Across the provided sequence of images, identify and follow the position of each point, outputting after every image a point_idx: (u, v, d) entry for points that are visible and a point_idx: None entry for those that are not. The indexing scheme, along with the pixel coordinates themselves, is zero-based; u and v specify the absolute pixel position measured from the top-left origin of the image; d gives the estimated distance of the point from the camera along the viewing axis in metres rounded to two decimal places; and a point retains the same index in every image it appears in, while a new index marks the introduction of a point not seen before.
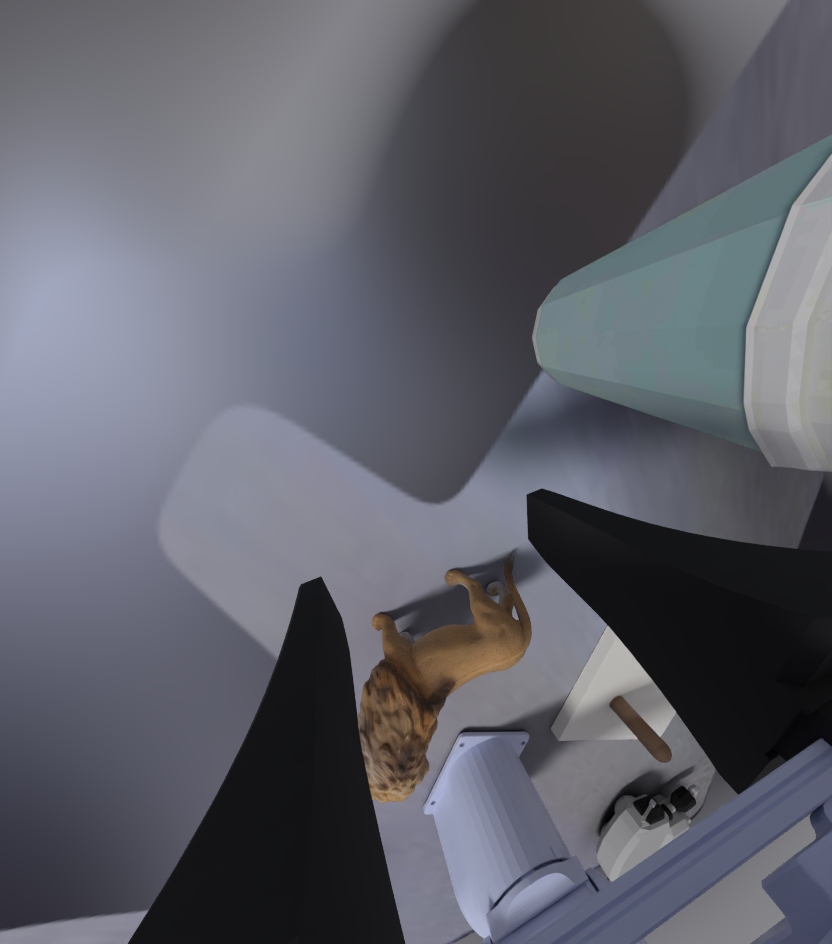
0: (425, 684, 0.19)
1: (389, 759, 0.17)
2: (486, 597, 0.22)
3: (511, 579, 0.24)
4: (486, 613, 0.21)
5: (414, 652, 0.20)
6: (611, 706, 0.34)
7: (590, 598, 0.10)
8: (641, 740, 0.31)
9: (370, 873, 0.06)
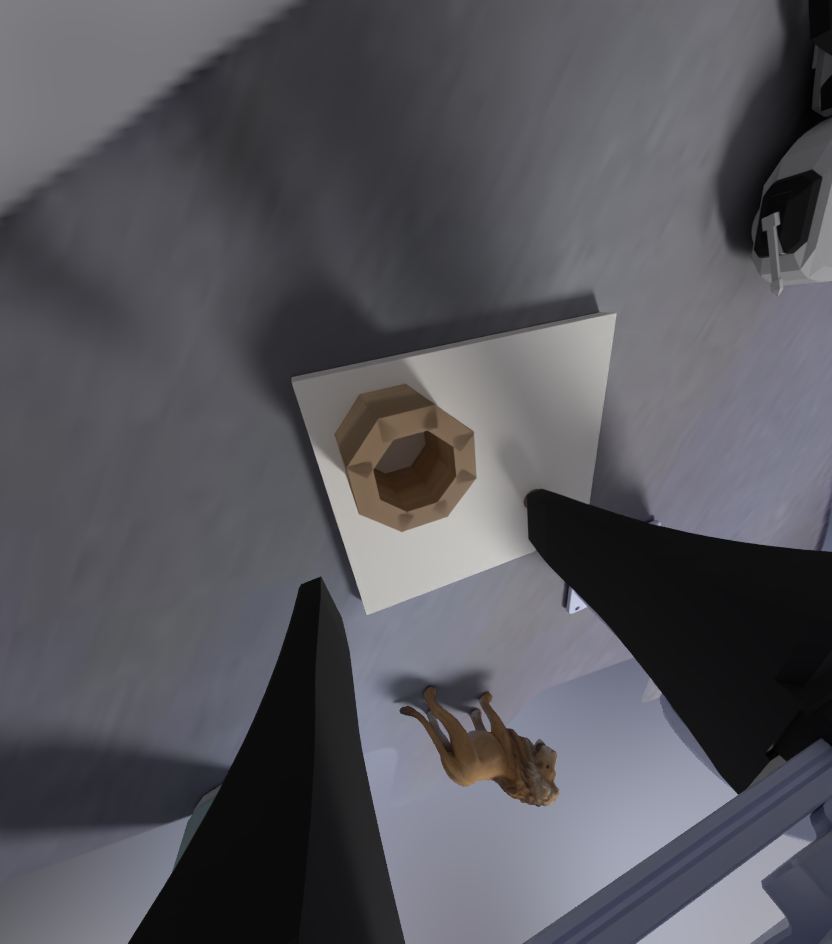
0: None
1: None
2: None
3: (418, 719, 0.30)
4: None
5: None
6: None
7: (590, 598, 0.10)
8: None
9: (370, 873, 0.06)
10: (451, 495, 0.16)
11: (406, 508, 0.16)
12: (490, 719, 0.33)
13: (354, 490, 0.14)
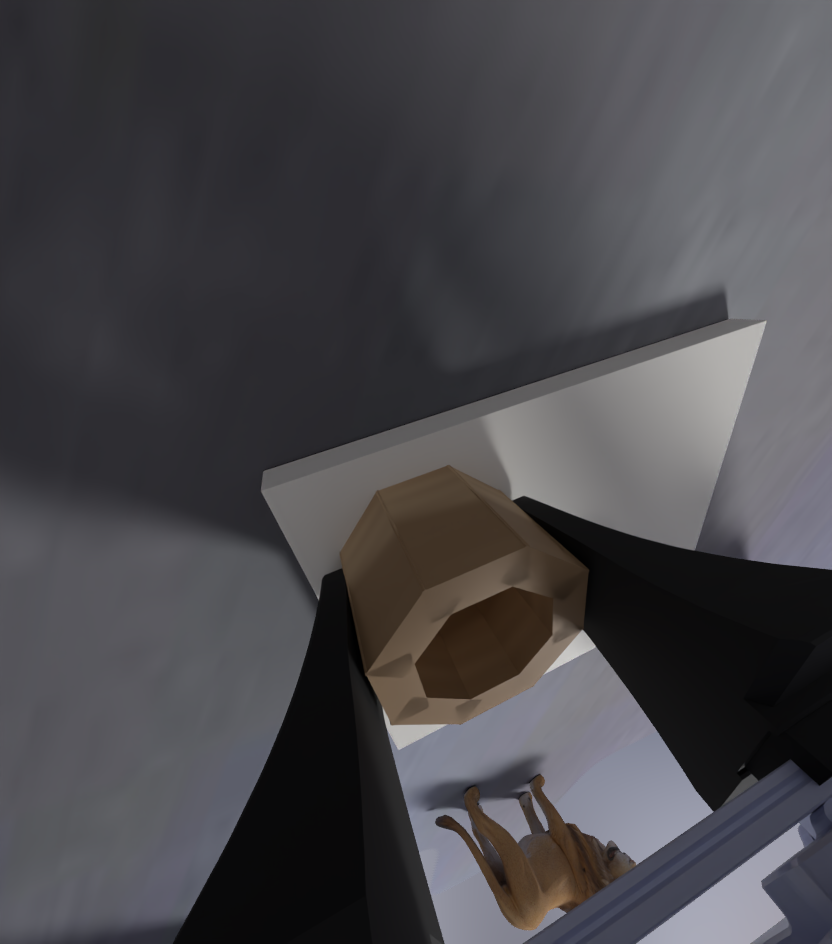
0: None
1: None
2: (485, 859, 0.24)
3: None
4: None
5: None
6: None
7: None
8: None
9: (407, 852, 0.06)
10: (541, 659, 0.09)
11: (466, 685, 0.09)
12: (546, 815, 0.27)
13: (381, 699, 0.08)
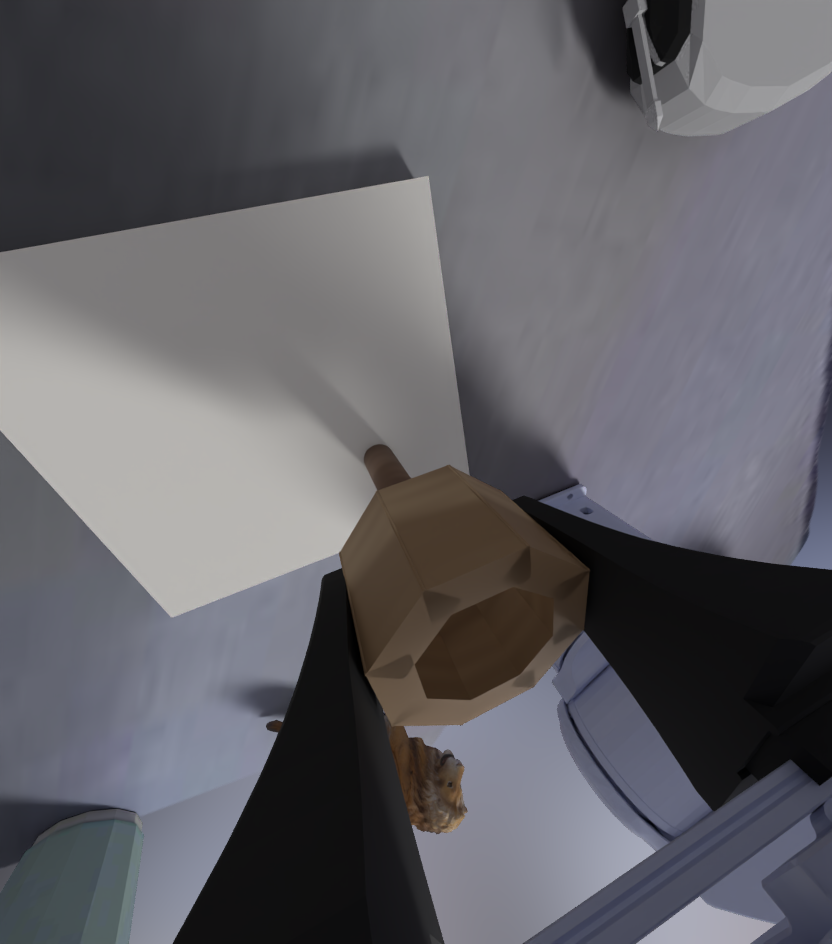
0: None
1: None
2: None
3: None
4: None
5: None
6: None
7: None
8: None
9: (407, 852, 0.06)
10: (542, 660, 0.09)
11: (467, 685, 0.09)
12: (390, 728, 0.28)
13: (381, 700, 0.07)
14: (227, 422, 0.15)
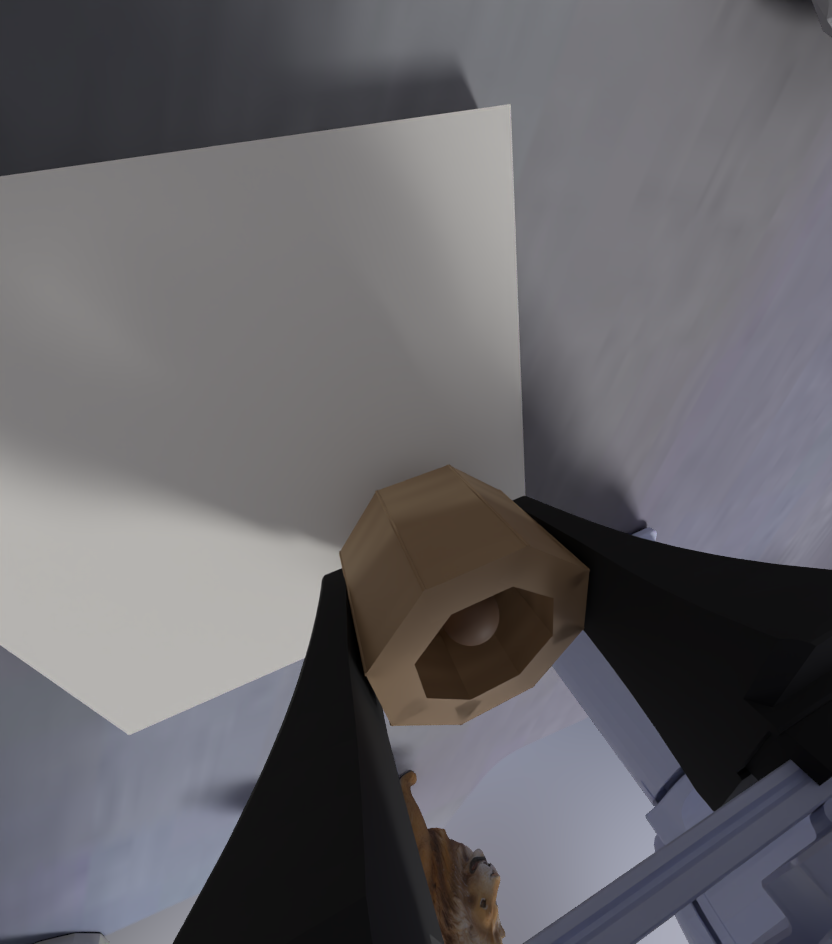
0: None
1: None
2: None
3: None
4: None
5: None
6: None
7: None
8: None
9: (407, 852, 0.06)
10: (542, 660, 0.09)
11: (467, 685, 0.09)
12: None
13: (381, 699, 0.07)
14: (198, 482, 0.10)
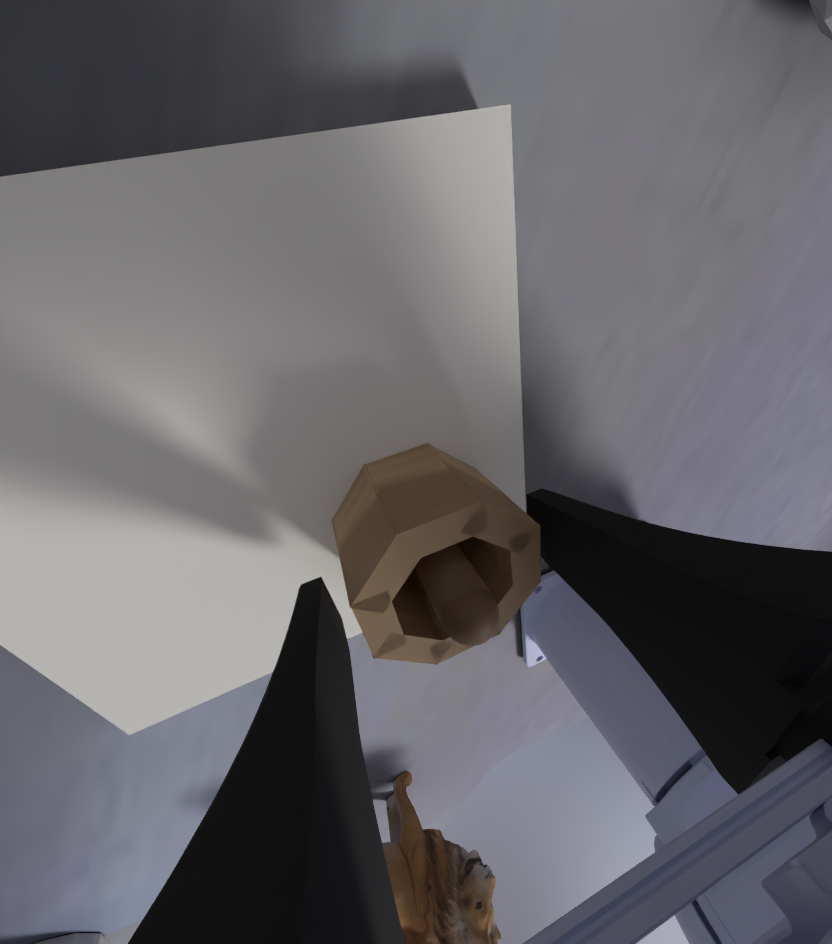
0: None
1: None
2: None
3: None
4: None
5: None
6: None
7: (590, 598, 0.10)
8: None
9: (370, 873, 0.06)
10: (505, 608, 0.11)
11: (440, 630, 0.11)
12: (401, 820, 0.22)
13: (364, 631, 0.09)
14: (198, 482, 0.10)
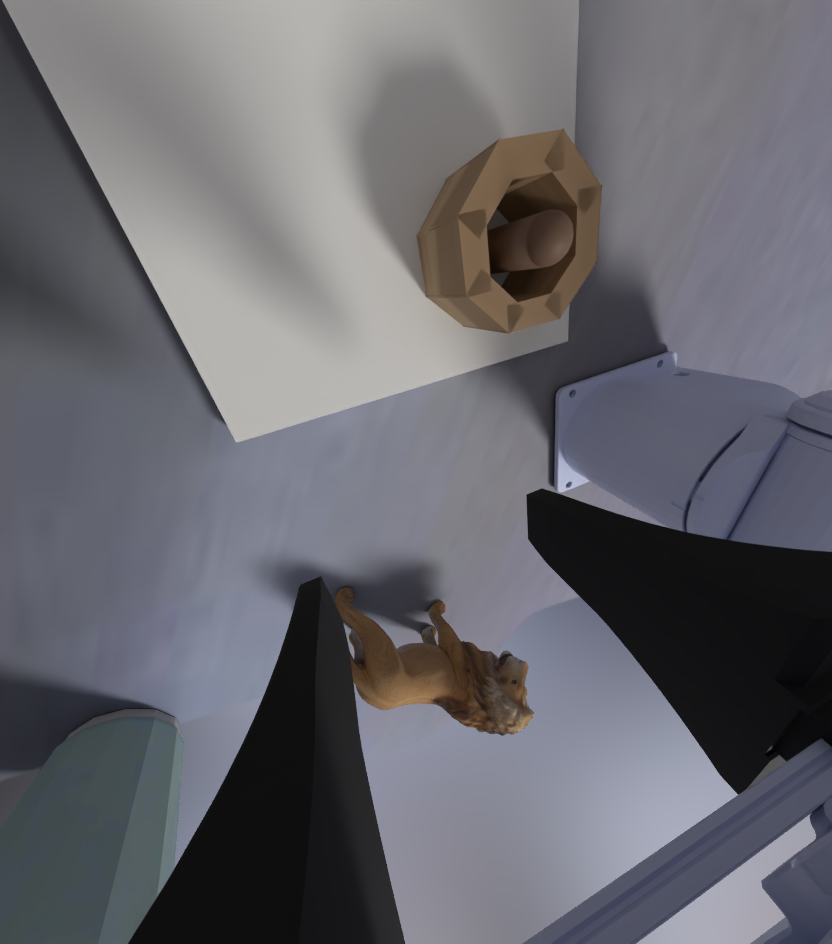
0: None
1: None
2: None
3: None
4: None
5: None
6: None
7: (590, 598, 0.10)
8: None
9: (370, 873, 0.06)
10: (567, 284, 0.13)
11: (513, 304, 0.13)
12: (438, 630, 0.24)
13: (463, 255, 0.11)
14: (321, 158, 0.12)
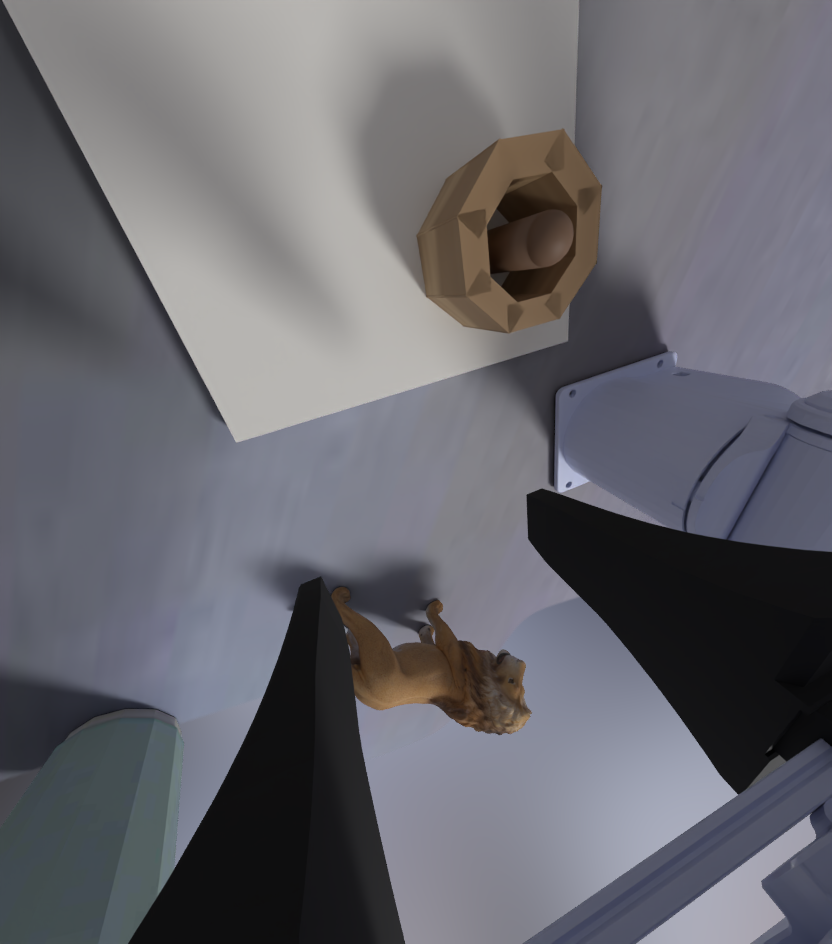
0: None
1: None
2: None
3: None
4: None
5: None
6: None
7: (590, 598, 0.10)
8: None
9: (370, 874, 0.06)
10: (567, 284, 0.13)
11: (513, 304, 0.13)
12: (435, 630, 0.24)
13: (463, 255, 0.11)
14: (321, 158, 0.12)
